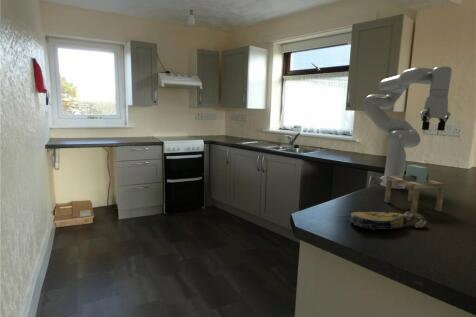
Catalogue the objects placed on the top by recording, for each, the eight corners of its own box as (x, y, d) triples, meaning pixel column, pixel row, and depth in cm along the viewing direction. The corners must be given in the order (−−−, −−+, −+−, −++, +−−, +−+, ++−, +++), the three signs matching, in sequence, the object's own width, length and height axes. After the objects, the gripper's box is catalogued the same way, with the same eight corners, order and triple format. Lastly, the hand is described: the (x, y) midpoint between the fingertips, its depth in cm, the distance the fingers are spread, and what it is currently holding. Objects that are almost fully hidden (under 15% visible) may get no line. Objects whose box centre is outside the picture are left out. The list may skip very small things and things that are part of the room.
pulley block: (442, 215, 101) (358, 215, 98) (441, 232, 101) (358, 233, 98) (413, 208, 116) (338, 208, 112) (412, 223, 116) (338, 223, 112)
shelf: (384, 201, 138) (387, 171, 135) (409, 200, 142) (413, 171, 140) (413, 213, 123) (418, 180, 120) (441, 211, 127) (446, 179, 125)
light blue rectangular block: (404, 182, 133) (407, 164, 132) (411, 182, 135) (414, 164, 133) (417, 186, 127) (420, 167, 126) (425, 186, 128) (427, 167, 127)
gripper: (445, 95, 147) (439, 130, 150) (417, 93, 143) (412, 129, 145) (459, 94, 140) (453, 131, 143) (431, 92, 135) (425, 130, 138)
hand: (432, 130), depth 144 cm, fingers open, 9 cm apart
